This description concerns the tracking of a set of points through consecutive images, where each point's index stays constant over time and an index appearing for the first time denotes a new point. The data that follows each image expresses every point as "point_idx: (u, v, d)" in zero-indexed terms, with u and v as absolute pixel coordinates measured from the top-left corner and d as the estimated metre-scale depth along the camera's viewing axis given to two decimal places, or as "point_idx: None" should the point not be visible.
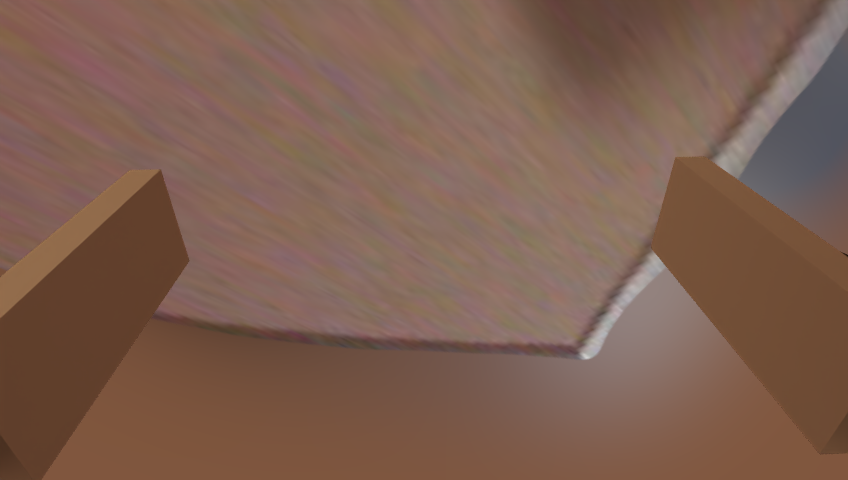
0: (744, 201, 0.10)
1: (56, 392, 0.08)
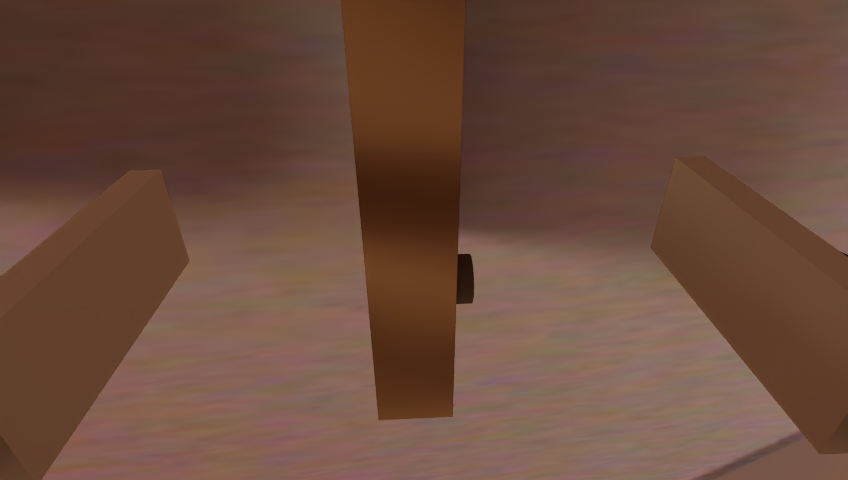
0: (744, 201, 0.10)
1: (56, 392, 0.08)
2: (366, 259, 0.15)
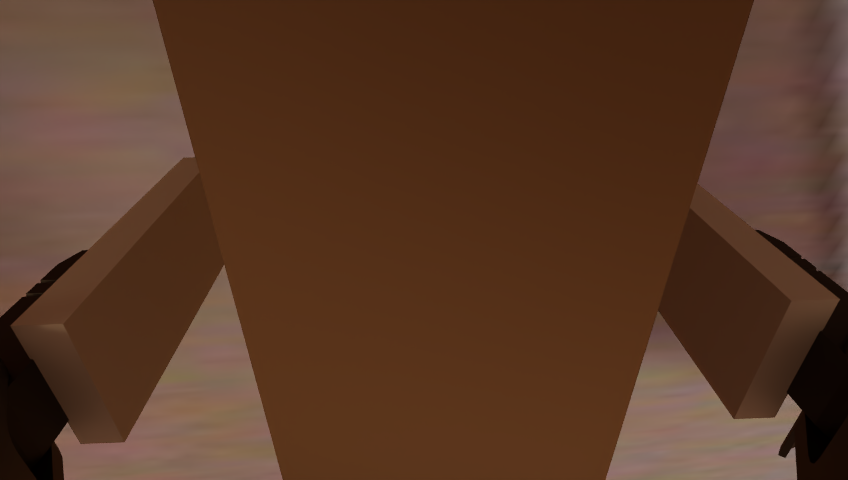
0: None
1: (137, 358, 0.09)
2: None
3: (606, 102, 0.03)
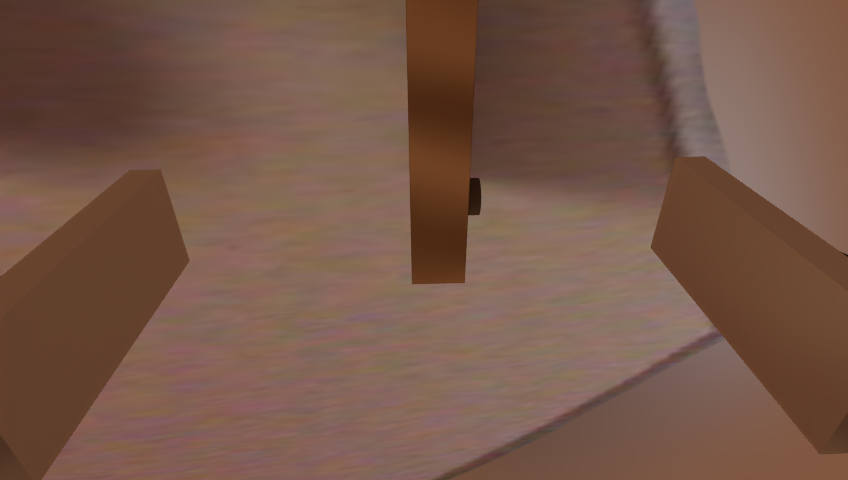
0: (744, 201, 0.10)
1: (56, 392, 0.08)
2: (410, 153, 0.23)
3: None
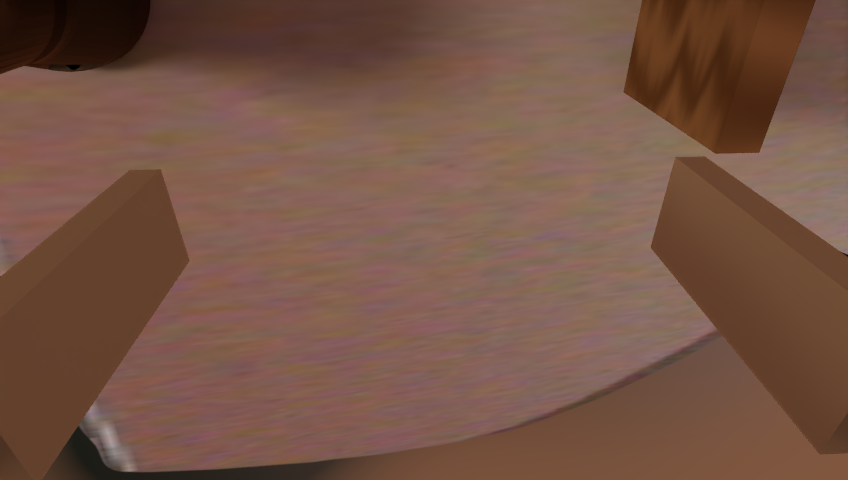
0: (744, 201, 0.10)
1: (56, 392, 0.08)
2: (756, 28, 0.29)
3: None
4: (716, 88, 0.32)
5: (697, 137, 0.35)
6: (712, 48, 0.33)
